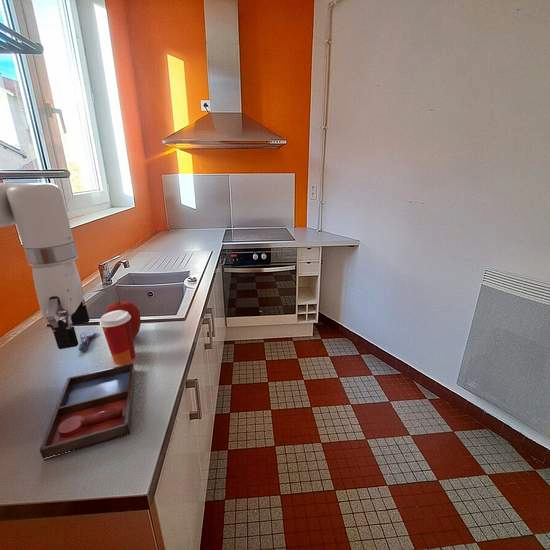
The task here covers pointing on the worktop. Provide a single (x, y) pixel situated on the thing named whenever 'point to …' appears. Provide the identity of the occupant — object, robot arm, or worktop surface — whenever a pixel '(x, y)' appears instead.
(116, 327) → the paper cup
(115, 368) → the tray
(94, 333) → the blue spoon
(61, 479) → the worktop surface
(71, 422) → the red spoon
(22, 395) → the worktop surface
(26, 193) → the robot arm
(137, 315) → the apple
